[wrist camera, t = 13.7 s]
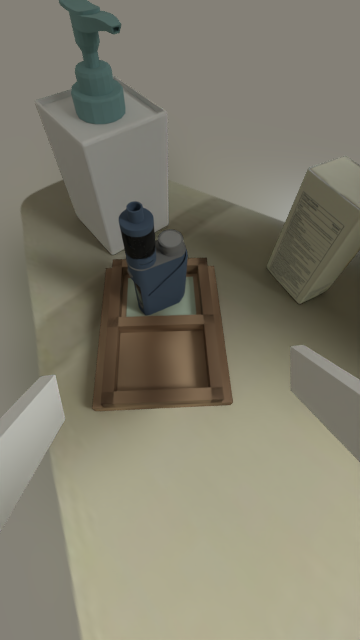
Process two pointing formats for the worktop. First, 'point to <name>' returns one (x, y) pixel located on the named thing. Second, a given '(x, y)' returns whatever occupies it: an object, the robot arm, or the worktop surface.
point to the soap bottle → (106, 136)
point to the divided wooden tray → (161, 346)
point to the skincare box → (319, 230)
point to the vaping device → (153, 260)
